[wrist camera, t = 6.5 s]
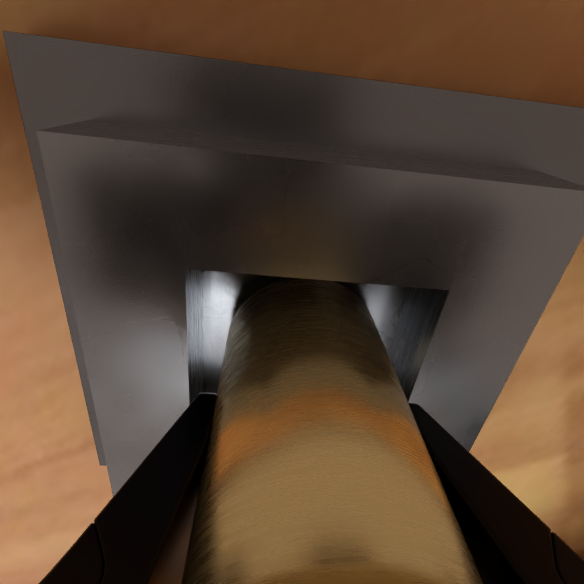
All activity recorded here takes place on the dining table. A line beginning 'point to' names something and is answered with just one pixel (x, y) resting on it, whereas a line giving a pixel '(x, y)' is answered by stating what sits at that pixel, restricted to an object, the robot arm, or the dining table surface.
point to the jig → (288, 221)
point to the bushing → (318, 456)
